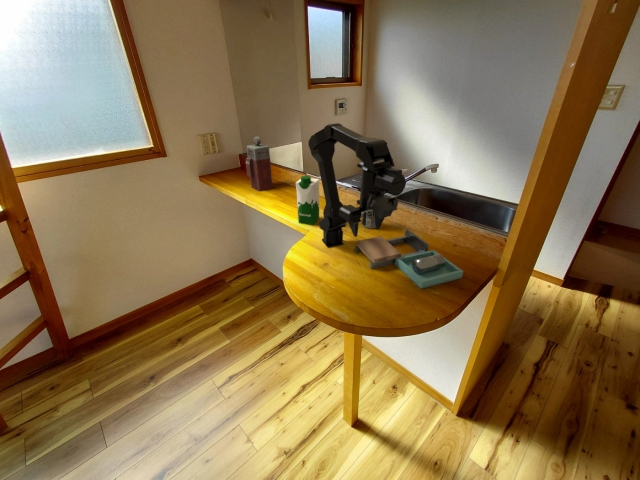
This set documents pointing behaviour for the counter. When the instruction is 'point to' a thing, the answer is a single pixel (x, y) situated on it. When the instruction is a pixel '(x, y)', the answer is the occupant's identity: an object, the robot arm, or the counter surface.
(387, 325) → the counter surface
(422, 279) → the tray
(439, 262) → the roller
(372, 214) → the beverage can
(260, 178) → the maroon lidded pitcher
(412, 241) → the track
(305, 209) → the milk carton
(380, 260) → the board
